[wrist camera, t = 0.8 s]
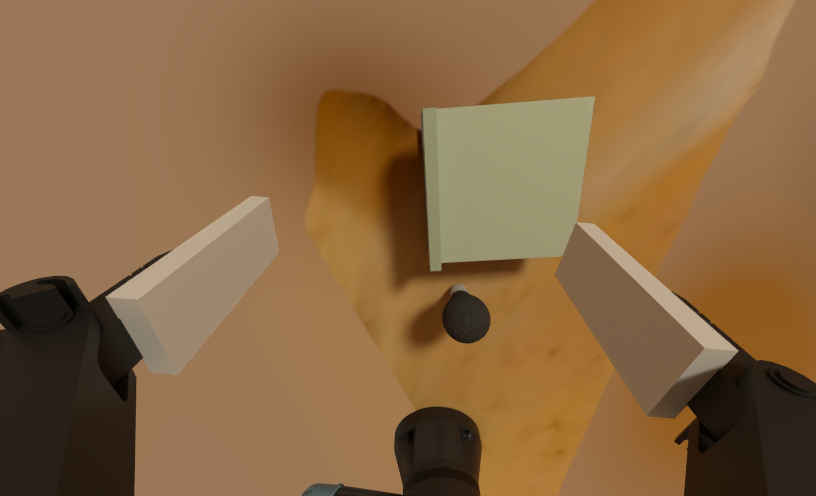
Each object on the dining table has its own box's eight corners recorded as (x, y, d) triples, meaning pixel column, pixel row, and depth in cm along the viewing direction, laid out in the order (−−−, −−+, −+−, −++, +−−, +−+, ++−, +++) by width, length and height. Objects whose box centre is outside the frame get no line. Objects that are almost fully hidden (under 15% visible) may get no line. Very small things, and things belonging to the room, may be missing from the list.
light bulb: (441, 309, 43) (449, 357, 33) (434, 275, 41) (440, 317, 31) (480, 302, 42) (498, 349, 33) (474, 267, 40) (492, 308, 31)
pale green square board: (567, 252, 34) (581, 263, 31) (429, 260, 34) (430, 271, 32) (588, 97, 28) (608, 93, 25) (421, 110, 29) (422, 108, 26)
